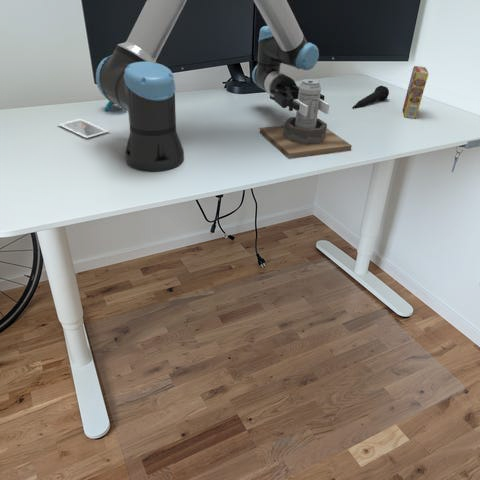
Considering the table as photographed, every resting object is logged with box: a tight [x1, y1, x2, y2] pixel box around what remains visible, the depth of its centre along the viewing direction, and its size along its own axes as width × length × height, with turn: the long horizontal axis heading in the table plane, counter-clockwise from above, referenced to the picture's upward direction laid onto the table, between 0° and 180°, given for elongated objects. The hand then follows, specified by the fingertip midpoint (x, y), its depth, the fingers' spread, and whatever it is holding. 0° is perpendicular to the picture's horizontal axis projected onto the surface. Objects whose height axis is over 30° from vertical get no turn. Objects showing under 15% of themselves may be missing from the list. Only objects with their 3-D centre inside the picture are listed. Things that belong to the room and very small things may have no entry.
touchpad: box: [57, 117, 110, 139], centre depth 136 cm, size 8×15×2 cm, turn 49°
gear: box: [104, 100, 115, 112], centre depth 151 cm, size 11×6×10 cm
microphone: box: [352, 85, 390, 109], centre depth 168 cm, size 6×6×20 cm
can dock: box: [259, 116, 352, 159], centre depth 135 cm, size 20×20×6 cm
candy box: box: [402, 65, 429, 119], centre depth 156 cm, size 9×4×15 cm, turn 167°
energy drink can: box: [295, 78, 322, 129], centre depth 131 cm, size 6×6×15 cm
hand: (317, 110), depth 126 cm, fingers closed on energy drink can, 6 cm apart
